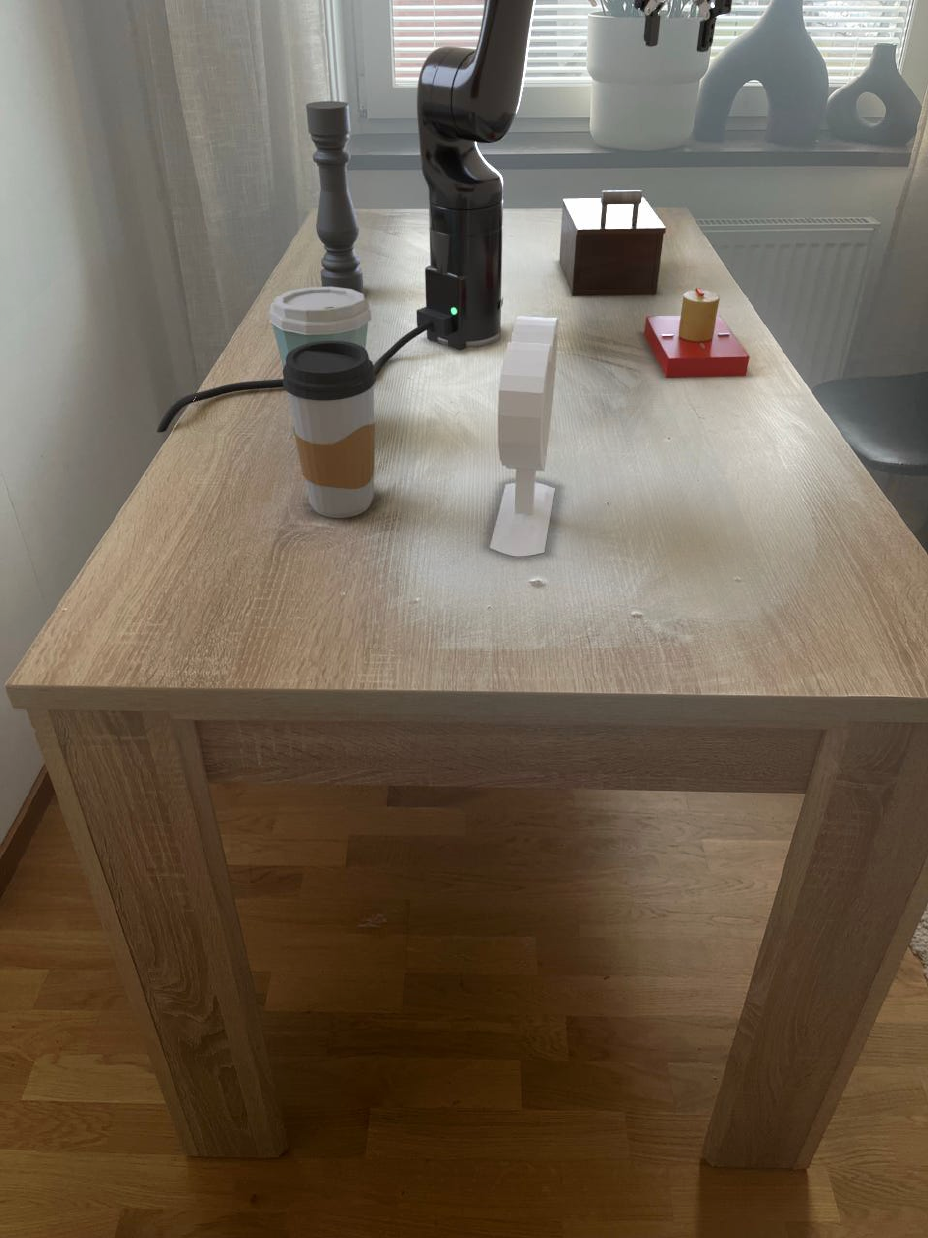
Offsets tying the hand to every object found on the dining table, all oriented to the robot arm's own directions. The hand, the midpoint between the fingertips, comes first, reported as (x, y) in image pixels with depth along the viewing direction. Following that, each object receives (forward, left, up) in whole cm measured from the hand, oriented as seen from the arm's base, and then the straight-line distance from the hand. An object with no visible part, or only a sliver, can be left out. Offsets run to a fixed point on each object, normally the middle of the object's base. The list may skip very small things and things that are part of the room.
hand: (676, 48), depth 132 cm
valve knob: (-30, -26, -27) cm, 48 cm away
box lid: (-13, 0, -20) cm, 24 cm away
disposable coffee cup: (-75, -7, -29) cm, 81 cm away
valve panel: (-30, -26, -29) cm, 49 cm away
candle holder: (-45, +25, -29) cm, 59 cm away
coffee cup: (-85, -20, -29) cm, 92 cm away
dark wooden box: (-13, 0, -29) cm, 32 cm away
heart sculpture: (-75, -35, -29) cm, 88 cm away
